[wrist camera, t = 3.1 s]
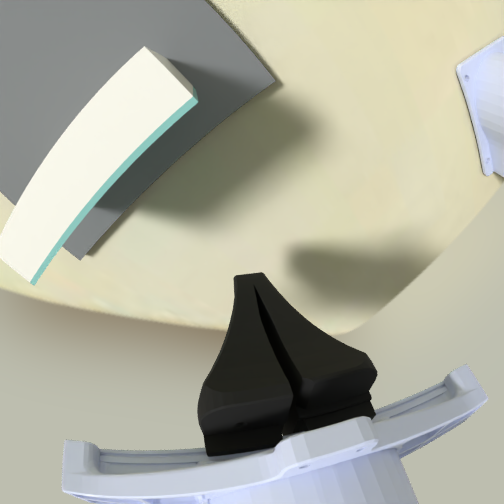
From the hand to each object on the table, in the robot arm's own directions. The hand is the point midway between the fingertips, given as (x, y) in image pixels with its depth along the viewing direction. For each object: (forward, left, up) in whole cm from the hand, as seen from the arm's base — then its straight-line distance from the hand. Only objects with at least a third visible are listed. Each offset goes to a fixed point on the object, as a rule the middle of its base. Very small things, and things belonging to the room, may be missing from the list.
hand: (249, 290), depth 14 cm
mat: (+15, 0, -4) cm, 15 cm away
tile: (+9, 0, -3) cm, 10 cm away
